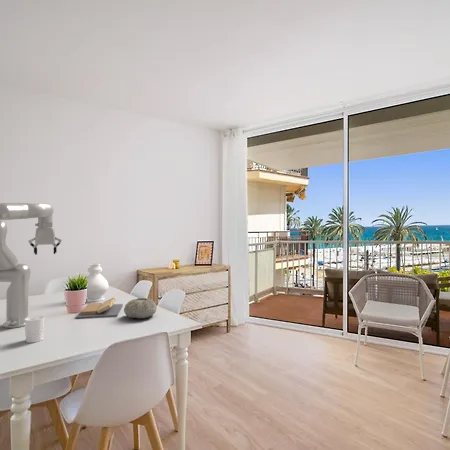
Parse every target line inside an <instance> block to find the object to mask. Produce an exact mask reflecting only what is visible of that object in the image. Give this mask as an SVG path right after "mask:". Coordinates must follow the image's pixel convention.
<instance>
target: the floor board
mask: <svg viewBox="0 0 450 450" xmlns="http://www.w3.org/2000/svg"><path fill="white" fill-rule="evenodd" d="M102 303H103V302H89V303H88V304H86V306H85V307H83V308H82V310H80V312H79V313H78V314H77V315H76V316H75V320H76V319H77V320H79V319H82V320H83V319H97V318H101V319H102V318H115V317H118V316H119V313H120V312H121V310H122V307H123V303H116V304H113V305H112V307H111V308H109V309H107V310H105V311H103V312H101V313H99V314H98V312H97V310H98V309H99V307H100V306H101V305H102Z"/></svg>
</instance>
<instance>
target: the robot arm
mask: <svg viewBox="0 0 450 450" xmlns="http://www.w3.org/2000/svg"><path fill="white" fill-rule="evenodd" d="M53 214H54V207H53V205H52V204H50V203H30V202H29V203H28V202H0V283H10V284H9V286H8V287H7V289H6V293H5V294H6V300H5V301H6V302H5V303H6V307H5V308H6V310H5V311H6V313H5V314H6V315H5V316H6V318H5V319H6V321H5V322H3V323H2V328H4V329H5V328H6V329H14V328H21V327H25V318H28V317H29V285H30V284H29V282H30V278H31V268H30V266H28V265H27V264H25V263H18V261H19V260H18V258H17V256H16V255H15V254H14V252H13V251H12V250H11V249H10V247H8V245H7V243H6V239H7V233H8V227H7V224H6V223H5V221H12V220H26V219H28V220H29V219H37V221H38V222H37V223H35V224H34V226H35V227H36V229H35V237H33V238H31V239H29V240H27V241H28V243H29V244H30V246H31V247H32V248H33V254H34V255H38V246H43V245H45V246H46V245H52V246H53V254H54V255H56V253H57V252H58V250H57V249H58V248H57V247H58V246H59V245H61V243H62V239H60V238H59V237H56V234H55V228H54V227H53ZM56 241H58V242H57V243H56ZM33 242H34V243H33Z"/></svg>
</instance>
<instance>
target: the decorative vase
mask: <svg viewBox="0 0 450 450" xmlns="http://www.w3.org/2000/svg"><path fill="white" fill-rule="evenodd" d="M88 264H89V267H88V269H87V272H88V273H89V274H88V275H87V276H86V278H87V279H88V286H87V296H86V297H87V298H86V299H87V301H86V302H89V303H97V302H101V301H104V300H105V299H106V298H105V297H104V295H105V294H106V292H108V290H109V285H110V284H109V282H108V280H107V278H106V277H104V276H103V274H102V271H103V268H102V267H101V262H96V263H88Z"/></svg>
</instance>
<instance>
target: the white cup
mask: <svg viewBox="0 0 450 450" xmlns="http://www.w3.org/2000/svg"><path fill="white" fill-rule="evenodd" d="M45 320H46V317H45V315H34V316H33V315H32V316H28V318H25V326H24V332H25V333H24V334H25V342H26V343H29V344H31V343H32V344H33V343H34V344H35V343H38V342H41V341H43V340H44V337H45V336H44V335H45V322H46V321H45Z"/></svg>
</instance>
